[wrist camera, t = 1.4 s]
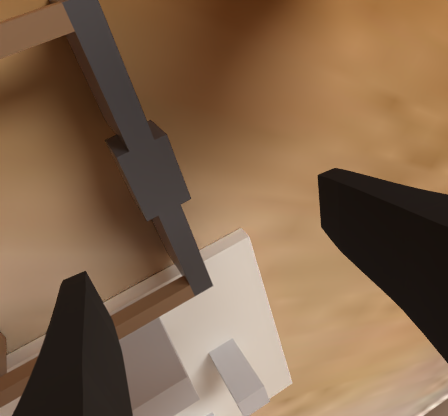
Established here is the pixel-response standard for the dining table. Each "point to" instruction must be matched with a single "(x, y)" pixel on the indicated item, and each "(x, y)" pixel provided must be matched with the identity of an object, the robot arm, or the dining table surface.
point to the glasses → (116, 159)
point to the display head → (199, 342)
